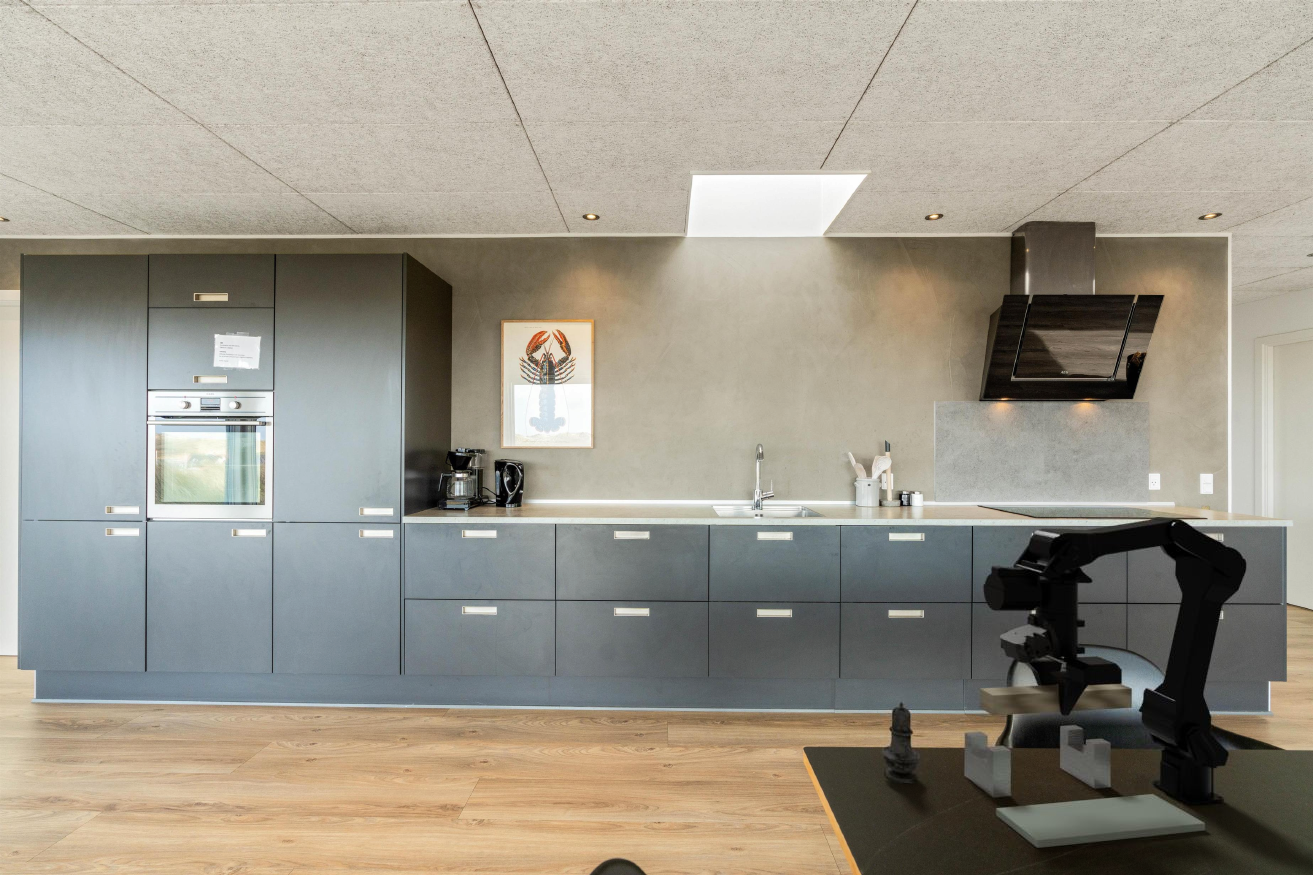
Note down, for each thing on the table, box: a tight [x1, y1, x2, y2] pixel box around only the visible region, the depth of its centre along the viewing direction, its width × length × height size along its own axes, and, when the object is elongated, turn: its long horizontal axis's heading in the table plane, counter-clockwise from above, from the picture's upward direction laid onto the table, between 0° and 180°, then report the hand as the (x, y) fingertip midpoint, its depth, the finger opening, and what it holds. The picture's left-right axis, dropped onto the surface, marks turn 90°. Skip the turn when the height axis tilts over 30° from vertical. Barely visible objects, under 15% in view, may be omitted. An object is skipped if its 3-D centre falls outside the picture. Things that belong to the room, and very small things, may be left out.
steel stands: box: [964, 724, 1112, 798], centre depth 106 cm, size 21×7×7 cm, turn 100°
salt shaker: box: [881, 701, 921, 784], centre depth 107 cm, size 6×6×12 cm
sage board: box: [995, 793, 1206, 849], centre depth 94 cm, size 27×8×1 cm, turn 100°
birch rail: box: [979, 683, 1133, 716], centre depth 102 cm, size 24×3×3 cm, turn 99°
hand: (1056, 710), depth 102 cm, fingers closed on birch rail, 3 cm apart
